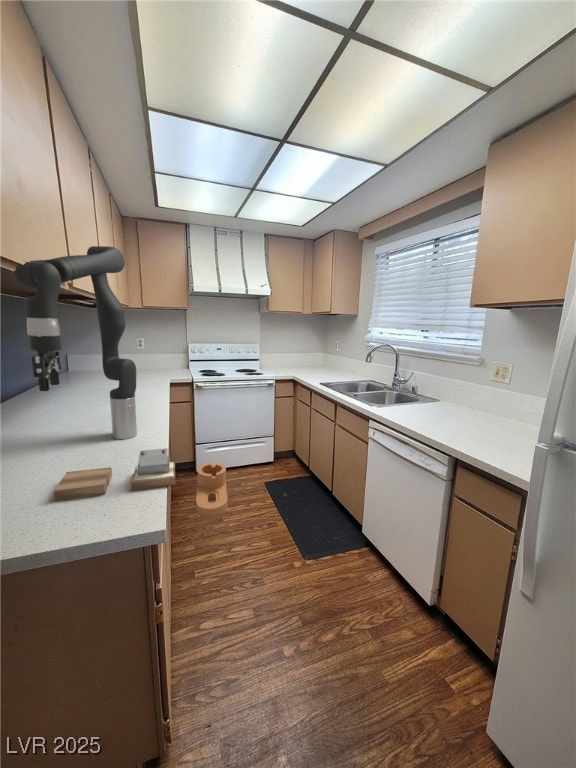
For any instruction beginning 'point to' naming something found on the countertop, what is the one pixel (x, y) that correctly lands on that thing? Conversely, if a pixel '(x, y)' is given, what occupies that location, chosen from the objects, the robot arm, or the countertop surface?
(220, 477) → the bracket
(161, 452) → the block
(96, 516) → the countertop surface
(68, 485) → the stand
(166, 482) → the stand
